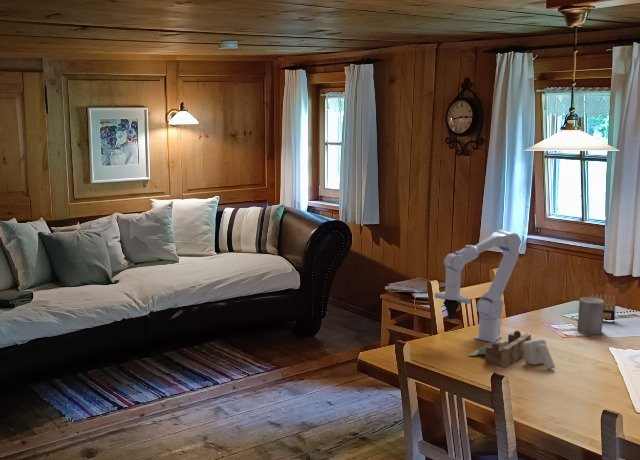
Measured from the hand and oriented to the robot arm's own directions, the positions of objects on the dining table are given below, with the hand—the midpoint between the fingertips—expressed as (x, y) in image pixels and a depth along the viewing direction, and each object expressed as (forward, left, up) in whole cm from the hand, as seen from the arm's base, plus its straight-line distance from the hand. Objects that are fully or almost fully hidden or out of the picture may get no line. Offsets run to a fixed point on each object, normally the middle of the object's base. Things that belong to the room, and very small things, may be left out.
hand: (451, 318), depth 296 cm
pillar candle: (-52, +38, -10) cm, 65 cm away
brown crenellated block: (+2, +26, -10) cm, 28 cm away
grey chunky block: (+3, +38, -10) cm, 39 cm away
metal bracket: (+2, +19, -11) cm, 22 cm away
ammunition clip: (-72, +37, -10) cm, 82 cm away
